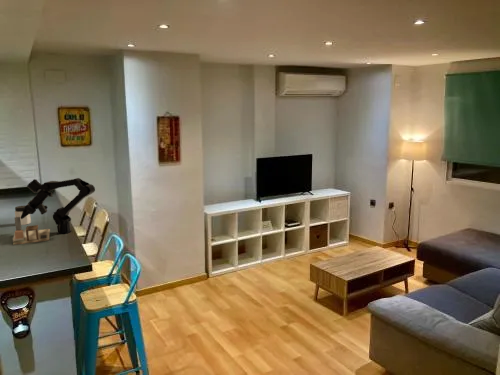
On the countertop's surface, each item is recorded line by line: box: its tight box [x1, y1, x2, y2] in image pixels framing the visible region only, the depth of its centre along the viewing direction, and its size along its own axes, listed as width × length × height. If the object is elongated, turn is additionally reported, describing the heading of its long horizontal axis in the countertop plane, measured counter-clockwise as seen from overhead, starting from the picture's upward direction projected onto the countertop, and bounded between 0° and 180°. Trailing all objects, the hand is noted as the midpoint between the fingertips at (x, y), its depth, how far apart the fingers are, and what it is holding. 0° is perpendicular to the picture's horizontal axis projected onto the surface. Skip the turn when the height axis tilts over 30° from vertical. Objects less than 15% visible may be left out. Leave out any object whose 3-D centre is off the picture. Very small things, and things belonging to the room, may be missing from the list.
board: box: [12, 228, 51, 246], centre depth 253 cm, size 18×25×1 cm
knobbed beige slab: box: [12, 217, 26, 242], centre depth 250 cm, size 6×20×10 cm, turn 24°
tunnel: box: [25, 224, 39, 241], centre depth 246 cm, size 6×8×7 cm
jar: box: [14, 205, 32, 226], centre depth 286 cm, size 9×8×12 cm
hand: (22, 217), depth 257 cm, fingers open, 9 cm apart
